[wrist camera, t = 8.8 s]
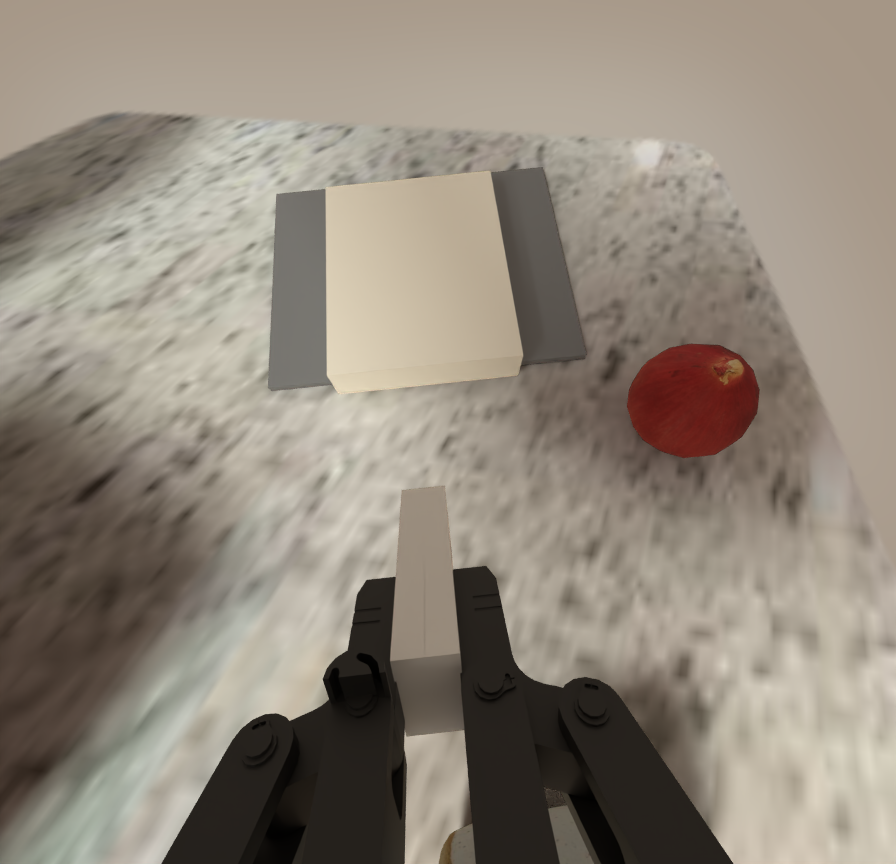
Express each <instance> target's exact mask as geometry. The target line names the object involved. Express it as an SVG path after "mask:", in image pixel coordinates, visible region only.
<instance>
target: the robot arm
mask: <svg viewBox="0 0 896 864" xmlns="http://www.w3.org/2000/svg"><path fill="white" fill-rule="evenodd" d="M352 624H353V626H352V628H351V634H350V640H349V646H348V651H346V652H344V653H343V654H341V655H340V656H338V657H337V658H335V660H334V661H333V662H332V663H331V664H330V665H329V667H328V668H327V670H326V672H325V675H324V677H323V682H324V685H325V688H326V691H327V694H328V697H329V700H328V701H327V702H326V703H325V704H323V705H322V706H320V707H319V708H317V709H315V710H313V711H311V712H309V713H307V714H305V715H302V716H300V717H298V718H296V719H293V720H291V721H289V720H288V719H287V717H284V716H282V715H280V714H265V715H263V716H260V717H258V718H256V719H253V720H252V721H251V722H249V723H248V724H247V725H246V726H244V727H243V728H242V729H241V730H240V731H239V732H238V734H237V735H236V736H235V738H234V739H233V740H232V742H231V743H230V745H229V747H228V749H227V750H226V752H225V754H224V756H223V757H222V759H221V761H220V763H219V764H218V766H217V768H216V770H215V771H214V773H213V775H212V776H211V778H210V780H209V782H208V783H207V785H206V787H205V789H204V790H203V792H202V794H201V796H200V797H199V799H198V801H197V803H196V804H195V806H194V808H193V810H192V811H191V813H190V815H189V817H188V818H187V820H186V822H185V823H184V825H183V827H182V829H181V830H180V832H179V834H178V836H177V837H176V839H175V841H174V843H173V844H172V846H171V848H170V850H169V851H168V853H167V855H166V857H165V858H164V860H163V862H162V864H404V863H405V819H406V775H407V763H406V757H405V751H404V732H406V736H415V735H424V734H433V733H442V732H451V731H460V730H465V742H466V754H467V766H468V778H469V790H470V802H471V814H472V826H473V838H474V850H475V862H476V864H560V861H559V857H558V852H557V847H556V843H555V838H554V833H553V829H552V824H551V820H550V815H549V810H548V806H547V801H546V796H545V792H544V787H546V788H550V789H553V790H557V791H560V792H561V793H562V796H563V798H564V800H565V802H566V804H567V806H568V809H569V811H570V813H571V815H572V817H573V819H574V822H575V824H576V826H577V828H578V830H579V833H580V835H581V837H582V839H583V841H584V843H585V846H586V848H587V850H588V852H589V854H590V856H591V859H592V861H593V863H594V864H733V862H732V861H731V859H730V858H729V856H728V855H727V854H726V852H725V851H724V849H723V848H722V846H721V845H720V843H719V842H718V840H717V839H716V837H715V836H714V834H713V833H712V832H711V830H710V829H709V827H708V826H707V824H706V823H705V821H704V820H703V818H702V817H701V815H700V814H699V812H698V811H697V810H696V808H695V807H694V805H693V804H692V802H691V801H690V799H689V798H688V796H687V795H686V793H685V792H684V790H683V789H682V788H681V786H680V785H679V783H678V782H677V780H676V779H675V777H674V776H673V774H672V773H671V771H670V770H669V768H668V767H667V766H666V764H665V763H664V761H663V760H662V758H661V757H660V755H659V754H658V752H657V751H656V749H655V748H654V746H653V745H652V744H651V742H650V741H649V739H648V738H647V736H646V735H645V733H644V732H643V730H642V729H641V727H640V726H639V724H638V723H637V722H636V720H635V719H634V717H633V716H632V714H631V713H630V711H629V710H628V708H627V707H626V705H625V704H624V702H623V701H622V700H621V698H620V697H619V696H618V695H617V693H616V692H615V691H614V690H613V689H612V688H611V687H610V686H608V685H607V684H605V683H603V682H601V681H600V680H597V679H592V678H588V677H583V678H577V679H573V680H572V681H570V682H569V683H567V684H566V685H565V686H564V687H563V688H561V687H557V686H552V685H547V684H543V683H540V682H537V681H534V680H533V679H531V678H529V677H528V676H526V675H525V674H524V673H523V672H522V671H521V670H520V669H519V668H518V666H517V665H516V663H515V661H514V658H513V655H512V651H511V647H510V642H509V637H508V633H507V628H506V623H505V618H504V614H503V609H502V604H501V599H500V596H499V590H498V585H497V581H496V578H495V576H494V575H493V574H492V573H491V571H490V570H489V569H488V568H487V566H482V567H472V568H463V569H454V570H453V561H452V550H451V541H450V531H449V522H448V513H447V504H446V494H445V486H438V487H428V488H419V489H409V490H402V495H401V510H400V524H399V538H398V553H397V567H396V577H390V578H381V579H372V580H366V582H365V583H364V585H363V586H362V588H361V589H360V591H359V593H358V594H357V599H356V605H355V613H354V616H353V622H352Z"/></svg>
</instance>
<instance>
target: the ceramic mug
mask: <svg viewBox="0 0 896 864" xmlns="http://www.w3.org/2000/svg"><path fill="white" fill-rule="evenodd" d="M548 810H549V815H550V820H551V824H552V829H553V833H554V838H555V843H556V847H557V852H558V857H559V861H560V864H594V863H593V861H592V859H591V856H590V854H589V852H588V850H587V848H586V846H585V843H584V841H583V839H582V837H581V835H580V833H579V830H578V828H577V826H576V824H575V822H574V819H573V817H572V815H571V813H570V811H569V809H568V806H567V805H564V806H559V807H554V808H549V809H548ZM439 864H476V862H475V850H474V838H473V826H472V824H470V825H468V826H466V827H463V828H461V829H459V830H456V831H454V832H453V833H452V834H450V835H449V837H448V839H447V840H446V842H445V844H444V846H443V848H442V851H441V855H440V860H439Z"/></svg>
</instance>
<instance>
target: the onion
mask: <svg viewBox="0 0 896 864" xmlns="http://www.w3.org/2000/svg"><path fill="white" fill-rule="evenodd" d="M758 400H759V387H758V384H757V381H756V377H755V374H754V371H753V369H752V368H751V367H750V366H749V365H748V364H747V362H746V361H745V360H744V359H743V358H742V357H741V356H740V355H738V354H736V353H734V352H732V351H730V350H728V349H726V348H724V347H722V346H720V345H704V344H687V345H682V346H677V347H671V348H669V349H667V350H665V351H663V352H661V353H660V354H658V355H657V356H655V357H654V358H652V359H650V360H649V361H647V363H646V364H645V365H644V366H643V367H642V368H641V370H640V371H639V373H638V374H637V376H636V377H635V379H634V381H633V382H632V384H631V387H630V389H629V395H628V403H627V408H628V411H629V414H630V418H631V421H632V425H633V427H634V428H635V430H636V431H637V432H638V434H639V435H640V436H641V438H642V439H643V440H644V441H645V442H647V443H649V444H650V445H652V446H653V447H655V448H657V449H658V450H660V451H662V452H665V453H669V454H672V455H675V456H679V457H682V458H688V457H699V456H708V455H714V454H717V453H718V452H720V451H722V450H723V449H725V448H726V447H728V446H730V445H731V444H733V443H734V442H736V441H737V440H738V439H740V438H741V437H742V436H743V434H744V433H745V432H746V430H747V429H748V427H749V425H750V424H751V422H752V420H753V419H754V417H755V416H756V414H757V409H758Z"/></svg>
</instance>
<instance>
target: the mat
mask: <svg viewBox="0 0 896 864" xmlns="http://www.w3.org/2000/svg"><path fill="white" fill-rule="evenodd" d="M491 177H492V183H493V188H494V194H495V200H496V205H497V211H498V216H499V222H500V228H501V233H502V239H503V244H504V250H505V255H506V261H507V267H508V272H509V278H510V283H511V289H512V294H513V300H514V306H515V311H516V317H517V322H518V328H519V334H520V339H521V345H522V350H523V359H522V362H521V365H528V364H538V363H547V362H557V361H567V360H577V359H585V357H586V355H587V354H586V350H585V346H584V341H583V337H582V333H581V328H580V324H579V320H578V316H577V311H576V307H575V303H574V299H573V294H572V290H571V286H570V282H569V277H568V273H567V269H566V264H565V260H564V256H563V252H562V247H561V243H560V239H559V235H558V230H557V226H556V222H555V217H554V213H553V209H552V205H551V200H550V196H549V192H548V188H547V183H546V179H545V175H544V170H543V167H540V168H530V169H520V170H510V171H501V172H491ZM324 385H333V384H332V383H331V381H330V380H329V378H328V377H327V325H326V189H322V190H312V191H302V192H292V193H283V194H277V196H276V219H275V242H274V265H273V287H272V310H271V333H270V355H269V378H268V388H269V389H270V390H271V391H276V390H285V389H295V388H305V387H315V386H324Z"/></svg>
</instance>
